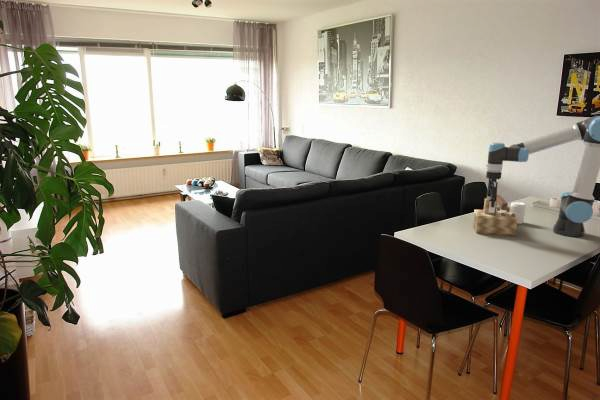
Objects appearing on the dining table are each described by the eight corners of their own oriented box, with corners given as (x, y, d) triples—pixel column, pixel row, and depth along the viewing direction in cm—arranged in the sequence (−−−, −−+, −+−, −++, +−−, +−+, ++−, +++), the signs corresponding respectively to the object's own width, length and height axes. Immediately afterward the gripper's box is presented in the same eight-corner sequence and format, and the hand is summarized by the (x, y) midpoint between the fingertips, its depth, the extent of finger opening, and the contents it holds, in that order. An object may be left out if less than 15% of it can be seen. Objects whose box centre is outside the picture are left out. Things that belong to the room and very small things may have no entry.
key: (500, 201, 274) (500, 194, 273) (507, 210, 252) (507, 203, 251) (494, 200, 275) (495, 194, 274) (501, 209, 253) (502, 203, 252)
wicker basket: (508, 226, 258) (510, 207, 255) (515, 236, 239) (517, 215, 236) (471, 223, 263) (473, 204, 260) (476, 233, 244) (478, 213, 241)
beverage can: (509, 223, 263) (511, 204, 261) (508, 220, 271) (510, 201, 268) (524, 225, 261) (526, 205, 258) (522, 221, 268) (525, 202, 265)
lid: (512, 213, 250) (514, 198, 248) (518, 220, 237) (520, 203, 234) (474, 211, 255) (475, 195, 253) (477, 217, 242) (478, 201, 240)
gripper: (483, 167, 253) (480, 205, 258) (490, 174, 231) (485, 214, 236) (498, 168, 251) (493, 205, 256) (505, 175, 229) (500, 215, 234)
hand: (490, 210), depth 246 cm, fingers open, 11 cm apart
